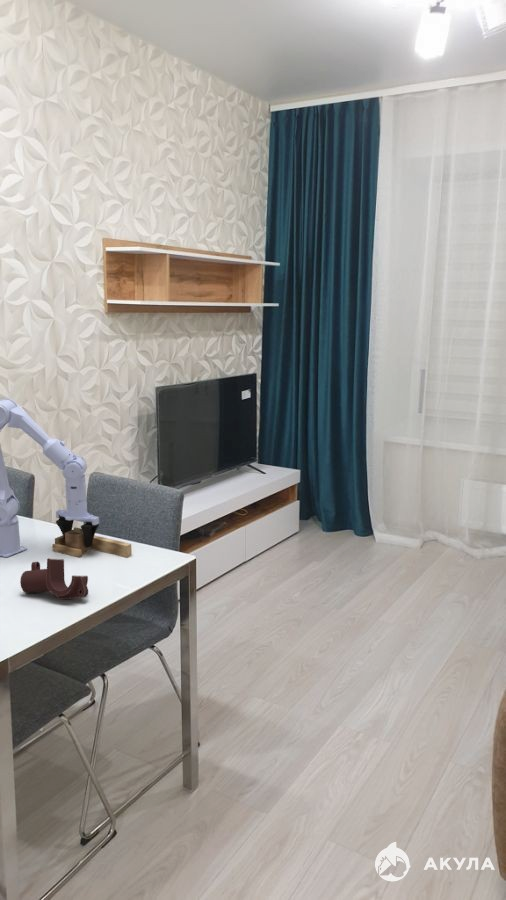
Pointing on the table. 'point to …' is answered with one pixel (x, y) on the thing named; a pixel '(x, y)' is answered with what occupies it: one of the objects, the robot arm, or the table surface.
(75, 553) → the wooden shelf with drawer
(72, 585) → the bracket
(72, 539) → the cabinet
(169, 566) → the table surface
